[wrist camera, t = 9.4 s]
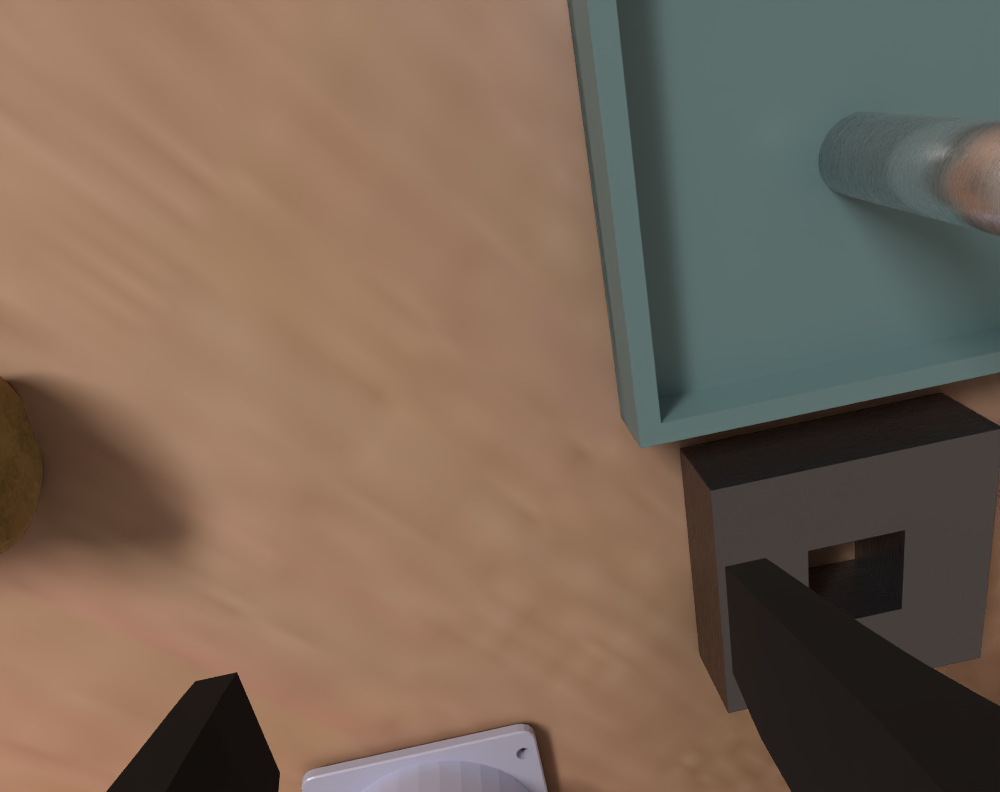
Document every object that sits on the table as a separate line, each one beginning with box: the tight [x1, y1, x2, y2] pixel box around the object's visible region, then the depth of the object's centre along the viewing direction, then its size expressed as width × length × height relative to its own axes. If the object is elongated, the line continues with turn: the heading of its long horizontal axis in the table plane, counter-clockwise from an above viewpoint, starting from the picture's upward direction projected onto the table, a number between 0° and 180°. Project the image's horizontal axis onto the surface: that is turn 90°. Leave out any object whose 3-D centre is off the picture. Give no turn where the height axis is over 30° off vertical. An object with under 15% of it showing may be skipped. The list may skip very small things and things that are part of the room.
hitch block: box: [680, 393, 1000, 713], centre depth 22 cm, size 8×8×2 cm
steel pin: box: [818, 111, 1000, 236], centre depth 14 cm, size 3×3×9 cm
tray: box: [567, 0, 1000, 448], centre depth 18 cm, size 13×13×2 cm
